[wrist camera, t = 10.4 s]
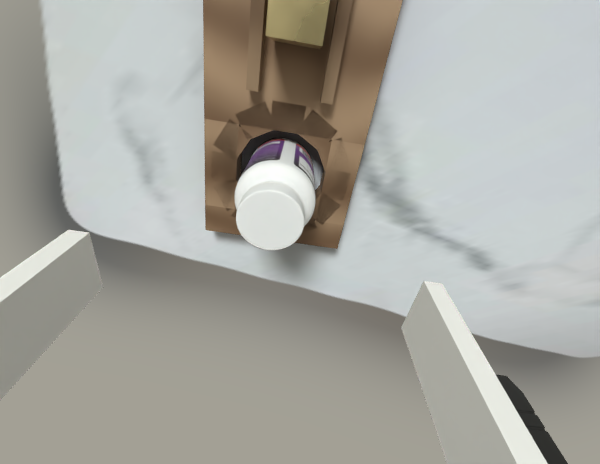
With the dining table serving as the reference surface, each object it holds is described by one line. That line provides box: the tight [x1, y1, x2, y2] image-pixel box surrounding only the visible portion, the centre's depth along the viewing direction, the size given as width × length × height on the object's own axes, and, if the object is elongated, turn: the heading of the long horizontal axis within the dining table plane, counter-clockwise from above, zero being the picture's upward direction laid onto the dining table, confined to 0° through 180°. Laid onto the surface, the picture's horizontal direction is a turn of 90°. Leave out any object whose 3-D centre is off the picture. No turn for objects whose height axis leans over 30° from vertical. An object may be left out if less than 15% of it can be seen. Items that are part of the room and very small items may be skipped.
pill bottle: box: [235, 138, 316, 250], centre depth 21 cm, size 5×5×10 cm
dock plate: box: [203, 0, 403, 249], centre depth 21 cm, size 22×12×3 cm, turn 171°
